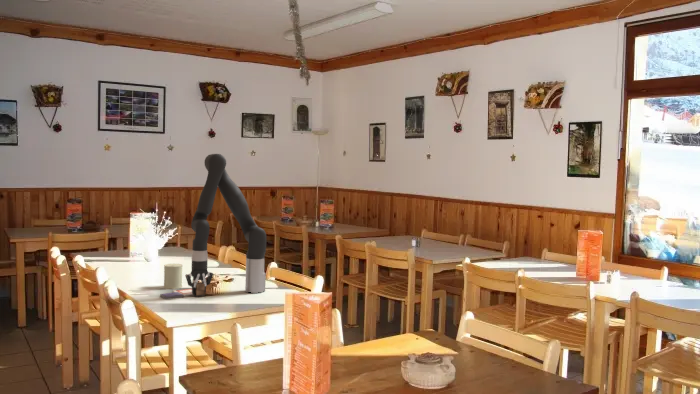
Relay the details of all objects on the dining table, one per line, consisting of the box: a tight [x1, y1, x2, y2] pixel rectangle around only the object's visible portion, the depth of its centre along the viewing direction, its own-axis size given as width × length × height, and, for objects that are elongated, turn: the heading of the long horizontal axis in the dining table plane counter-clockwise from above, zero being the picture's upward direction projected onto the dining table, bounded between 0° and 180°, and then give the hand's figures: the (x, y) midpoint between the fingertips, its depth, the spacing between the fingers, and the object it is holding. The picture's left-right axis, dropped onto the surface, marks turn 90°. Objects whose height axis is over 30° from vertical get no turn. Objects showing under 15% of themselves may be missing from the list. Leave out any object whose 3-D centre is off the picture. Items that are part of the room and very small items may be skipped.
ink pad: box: [159, 292, 185, 300], centre depth 295 cm, size 9×7×1 cm
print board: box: [172, 288, 193, 296], centre depth 306 cm, size 11×10×1 cm
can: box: [163, 263, 183, 290], centre depth 317 cm, size 9×9×12 cm
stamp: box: [192, 282, 206, 298], centre depth 300 cm, size 4×4×6 cm
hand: (198, 293), depth 300 cm, fingers closed on stamp, 4 cm apart
